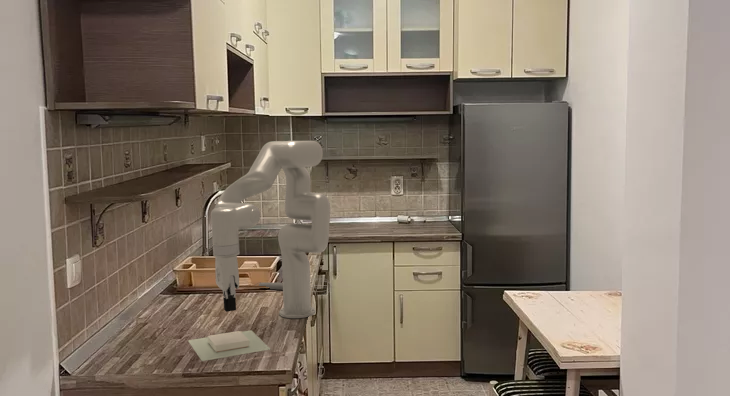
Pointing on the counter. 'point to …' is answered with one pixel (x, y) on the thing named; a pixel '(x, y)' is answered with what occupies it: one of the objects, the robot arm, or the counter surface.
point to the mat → (208, 352)
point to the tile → (228, 341)
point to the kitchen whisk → (280, 285)
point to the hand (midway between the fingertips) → (230, 310)
